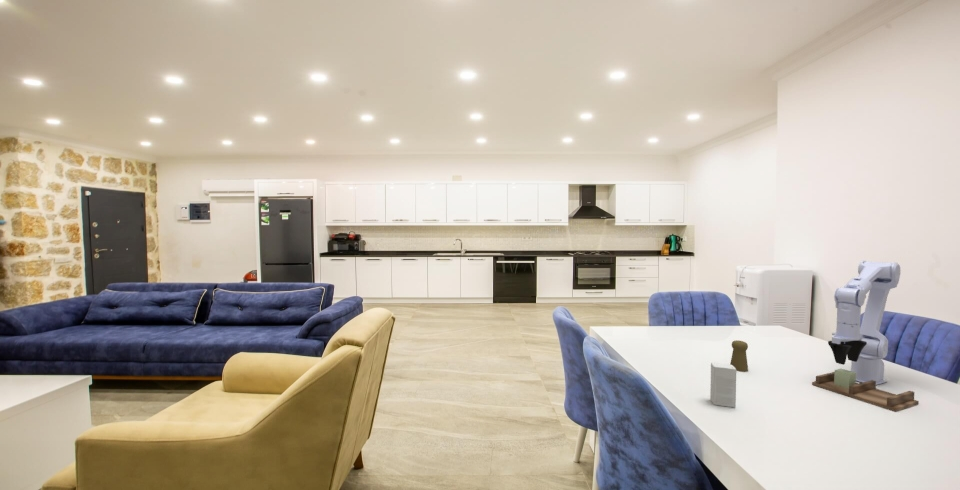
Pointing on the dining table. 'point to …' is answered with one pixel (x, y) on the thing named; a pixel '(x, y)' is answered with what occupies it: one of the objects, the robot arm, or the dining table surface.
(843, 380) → the sage block
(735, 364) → the cork
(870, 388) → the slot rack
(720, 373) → the skincare box
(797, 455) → the dining table surface
